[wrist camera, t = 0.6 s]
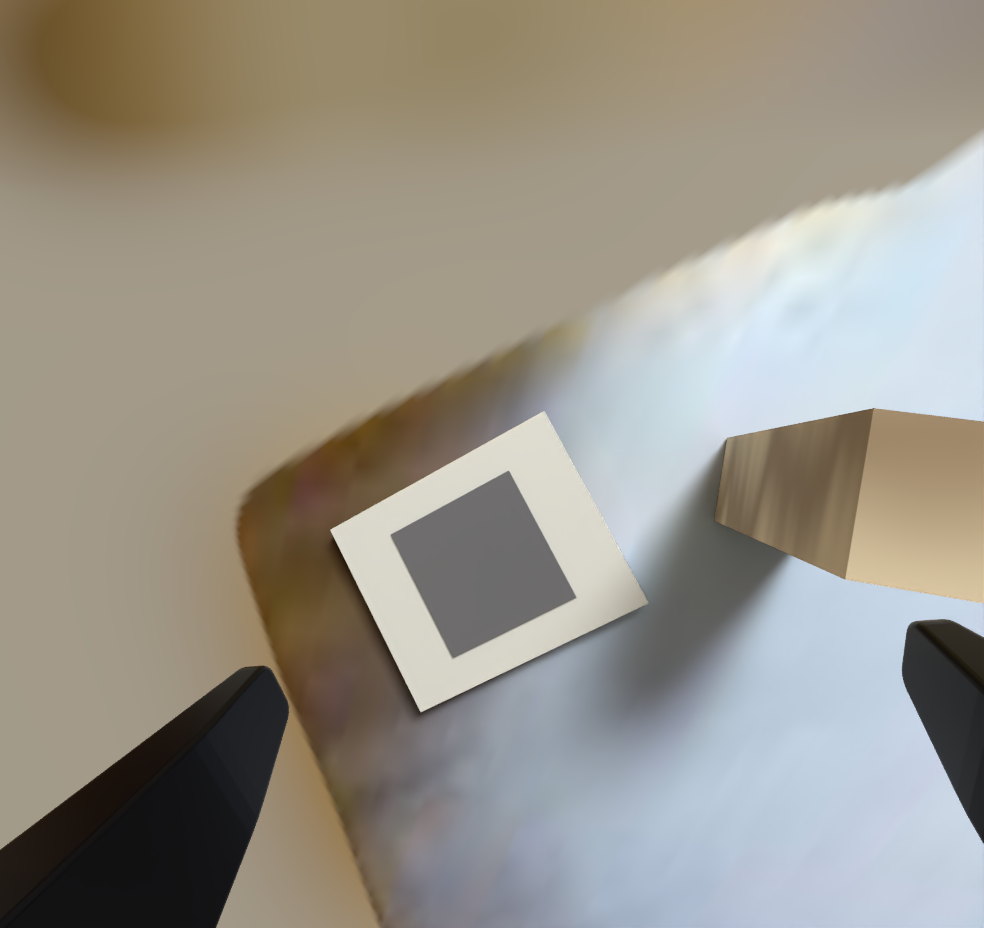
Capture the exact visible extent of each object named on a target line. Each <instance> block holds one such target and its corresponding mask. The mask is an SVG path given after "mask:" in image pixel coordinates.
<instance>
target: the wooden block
mask: <svg viewBox="0 0 984 928" xmlns="http://www.w3.org/2000/svg"><path fill="white" fill-rule="evenodd" d="M714 521H715V522H718V523H720V524H722V525H724V526H727V527H729V528H731V529H733V530H736V531H738V532H740V533H742V534H745V535H747V536H749V537H751V538H754V539H756V540H758V541H760V542H763V543H765V544H767V545H769V546H771V547H774V548H776V549H778V550H780V551H783V552H785V553H787V554H789V555H792V556H794V557H796V558H798V559H801V560H803V561H805V562H807V563H810V564H812V565H814V566H816V567H819V568H821V569H823V570H825V571H827V572H830V573H832V574H834V575H836V576H839V577H841V578H843V579H846V580H851V581H857V582H863V583H869V584H875V585H880V586H886V587H892V588H898V589H904V590H909V591H915V592H921V593H927V594H933V595H938V596H944V597H950V598H956V599H962V600H967V601H973V602H979V603H984V422H982V421H974V420H965V419H957V418H949V417H941V416H932V415H924V414H916V413H908V412H899V411H891V410H883V409H875V408H873V409H868V410H863V411H858V412H853V413H848V414H843V415H838V416H833V417H829V418H824V419H819V420H814V421H809V422H804V423H799V424H794V425H789V426H784V427H779V428H774V429H769V430H764V431H759V432H754V433H749V434H744V435H739V436H734V437H729V438H727V442H726V449H725V455H724V461H723V467H722V474H721V480H720V486H719V492H718V499H717V505H716V511H715V517H714Z"/></svg>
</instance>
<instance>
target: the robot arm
mask: <svg viewBox="0 0 984 928" xmlns="http://www.w3.org/2000/svg"><path fill="white" fill-rule="evenodd" d="M902 677H903V681H904V684H905V687H906V689H907V692H908V694H909V696H910V698H911V700H912V702H913V704H914V706H915V708H916V711H917V713H918V715H919V717H920V719H921V721H922V723H923V725H924V727H925V729H926V731H927V734H928V736H929V738H930V740H931V742H932V744H933V746H934V748H935V750H936V752H937V754H938V757H939V759H940V761H941V763H942V765H943V767H944V769H945V771H946V773H947V775H948V777H949V780H950V782H951V784H952V786H953V788H954V790H955V792H956V794H957V796H958V798H959V800H960V802H961V804H962V806H963V808H964V810H965V812H966V814H967V816H968V818H969V819H970V821H971V823H972V825H973V826H974V828H975V830H976V831H977V833H978V835H979V837H980V838H981V840H982V842H983V843H984V637H982V636H980V635H978V634H976V633H975V632H973V631H971V630H969V629H967V628H965V627H963V626H962V625H960V624H958V623H956V622H953V621H951V620H946V619H939V620H924V621H915V622H912V623H911V624H910V625H909V626H908V629H907V633H906V640H905V648H904V656H903V663H902ZM288 713H289V705H288V701H287V699H286V697H285V695H284V693H283V691H282V689H281V687H280V685H279V683H278V681H277V679H276V677H275V675H274V673H273V672H272V670H271V669H270V668H268V667H266V666H254V667H244V668H241V669H239V670H238V671H236V672H235V673H234V674H233V675H231V676H230V677H228V678H227V679H226V680H225V681H223V682H222V683H220V684H219V685H218V686H217V687H215V688H214V689H213V690H211V691H210V692H209V693H207V694H206V695H205V696H203V697H202V698H201V699H199V700H198V701H197V702H195V703H194V704H193V705H191V706H190V707H189V708H188V709H186V710H185V711H183V712H182V713H181V714H179V715H178V716H177V717H175V718H174V719H173V720H172V721H170V722H169V723H168V724H166V725H165V726H164V727H162V728H161V729H160V730H158V731H157V732H156V733H154V734H153V735H152V736H150V737H149V738H148V739H146V740H145V741H144V742H142V743H141V744H140V745H138V746H137V747H136V748H134V749H133V750H132V751H131V752H129V753H128V754H126V755H125V756H124V757H122V758H121V759H120V760H118V761H117V762H116V763H115V764H113V765H112V766H110V767H109V768H108V769H107V770H105V771H104V772H103V773H101V774H100V775H99V776H97V777H96V778H95V779H93V780H92V781H91V782H89V783H88V784H87V785H85V786H84V787H83V788H81V789H80V790H79V791H77V792H76V793H75V794H73V795H72V796H71V797H69V798H68V799H67V800H65V801H64V802H63V803H61V804H60V805H59V806H58V807H56V808H55V809H54V810H52V811H51V812H50V813H48V814H47V815H46V816H44V817H43V818H42V819H40V820H39V821H38V822H36V823H35V824H34V825H32V826H31V827H30V828H28V829H27V830H26V831H24V832H23V833H22V834H21V835H19V836H18V837H16V838H15V839H14V840H13V841H11V842H10V843H9V844H7V845H6V846H4V847H3V848H2V849H1V850H0V928H216V926H217V924H218V921H219V919H220V916H221V913H222V911H223V908H224V906H225V903H226V900H227V898H228V895H229V893H230V890H231V888H232V885H233V883H234V880H235V878H236V875H237V872H238V870H239V867H240V865H241V862H242V860H243V857H244V854H245V852H246V849H247V847H248V844H249V842H250V839H251V836H252V834H253V831H254V828H255V826H256V823H257V820H258V817H259V814H260V811H261V808H262V805H263V802H264V798H265V795H266V791H267V788H268V785H269V781H270V778H271V774H272V771H273V767H274V764H275V761H276V757H277V754H278V751H279V747H280V744H281V740H282V737H283V733H284V730H285V726H286V723H287V720H288Z"/></svg>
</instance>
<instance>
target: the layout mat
mask: <svg viewBox="0 0 984 928" xmlns="http://www.w3.org/2000/svg"><path fill="white" fill-rule="evenodd" d="M330 531H331V533H332V535H333V537H334V539H335V541H336V543H337V545H338V547H339V549H340V551H341V553H342V555H343V557H344V559H345V561H346V563H347V565H348V567H349V569H350V571H351V573H352V575H353V577H354V579H355V581H356V583H357V585H358V587H359V589H360V591H361V593H362V595H363V597H364V599H365V601H366V603H367V605H368V607H369V609H370V611H371V613H372V615H373V617H374V619H375V621H376V623H377V625H378V627H379V629H380V631H381V633H382V635H383V637H384V639H385V641H386V643H387V645H388V647H389V649H390V651H391V654H392V656H393V658H394V660H395V662H396V664H397V666H398V668H399V670H400V672H401V674H402V676H403V678H404V680H405V682H406V684H407V686H408V688H409V690H410V692H411V694H412V696H413V698H414V700H415V702H416V704H417V706H418V708H419V710H420V712H422V711H425V710H427V709H429V708H431V707H433V706H435V705H437V704H439V703H441V702H443V701H445V700H448V699H450V698H452V697H454V696H456V695H458V694H460V693H462V692H464V691H466V690H468V689H471V688H473V687H475V686H477V685H479V684H481V683H483V682H485V681H487V680H489V679H491V678H494V677H496V676H498V675H500V674H502V673H504V672H506V671H508V670H510V669H512V668H514V667H516V666H519V665H521V664H523V663H525V662H527V661H529V660H531V659H533V658H535V657H537V656H539V655H542V654H544V653H546V652H548V651H550V650H552V649H554V648H556V647H558V646H560V645H562V644H565V643H567V642H569V641H571V640H573V639H575V638H577V637H579V636H581V635H583V634H585V633H588V632H590V631H592V630H594V629H596V628H598V627H600V626H602V625H604V624H606V623H608V622H611V621H613V620H615V619H617V618H619V617H621V616H623V615H625V614H627V613H629V612H631V611H634V610H636V609H638V608H640V607H642V606H644V605H646V604H648V601H647V598H646V596H645V594H644V593H643V591H642V589H641V587H640V585H639V583H638V582H637V580H636V578H635V576H634V574H633V572H632V571H631V569H630V567H629V565H628V563H627V561H626V560H625V558H624V556H623V554H622V552H621V550H620V549H619V547H618V545H617V543H616V541H615V539H614V538H613V536H612V534H611V532H610V530H609V528H608V527H607V525H606V523H605V521H604V519H603V517H602V516H601V514H600V512H599V510H598V508H597V506H596V505H595V503H594V501H593V499H592V497H591V495H590V494H589V492H588V490H587V488H586V486H585V484H584V483H583V481H582V479H581V477H580V475H579V473H578V472H577V470H576V468H575V466H574V464H573V462H572V461H571V459H570V457H569V455H568V453H567V451H566V450H565V448H564V446H563V444H562V442H561V440H560V439H559V437H558V435H557V433H556V431H555V429H554V428H553V426H552V424H551V422H550V420H549V418H548V416H547V415H546V413H545V412H544V411H543V412H542V413H540V414H538V415H536V416H534V417H533V418H531V419H529V420H527V421H525V422H524V423H522V424H520V425H518V426H516V427H515V428H513V429H511V430H509V431H507V432H506V433H504V434H502V435H500V436H498V437H497V438H495V439H493V440H491V441H489V442H488V443H486V444H484V445H482V446H480V447H479V448H477V449H475V450H473V451H471V452H470V453H468V454H466V455H464V456H462V457H461V458H459V459H457V460H455V461H453V462H452V463H450V464H448V465H446V466H444V467H443V468H441V469H439V470H437V471H435V472H434V473H432V474H430V475H428V476H426V477H425V478H423V479H421V480H419V481H417V482H416V483H414V484H412V485H410V486H408V487H407V488H405V489H403V490H401V491H399V492H398V493H396V494H394V495H392V496H390V497H389V498H387V499H385V500H383V501H381V502H380V503H378V504H376V505H374V506H372V507H371V508H369V509H367V510H365V511H363V512H362V513H360V514H358V515H356V516H354V517H353V518H351V519H349V520H347V521H345V522H344V523H342V524H340V525H338V526H336V527H335V528H333V529H331V530H330Z"/></svg>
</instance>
